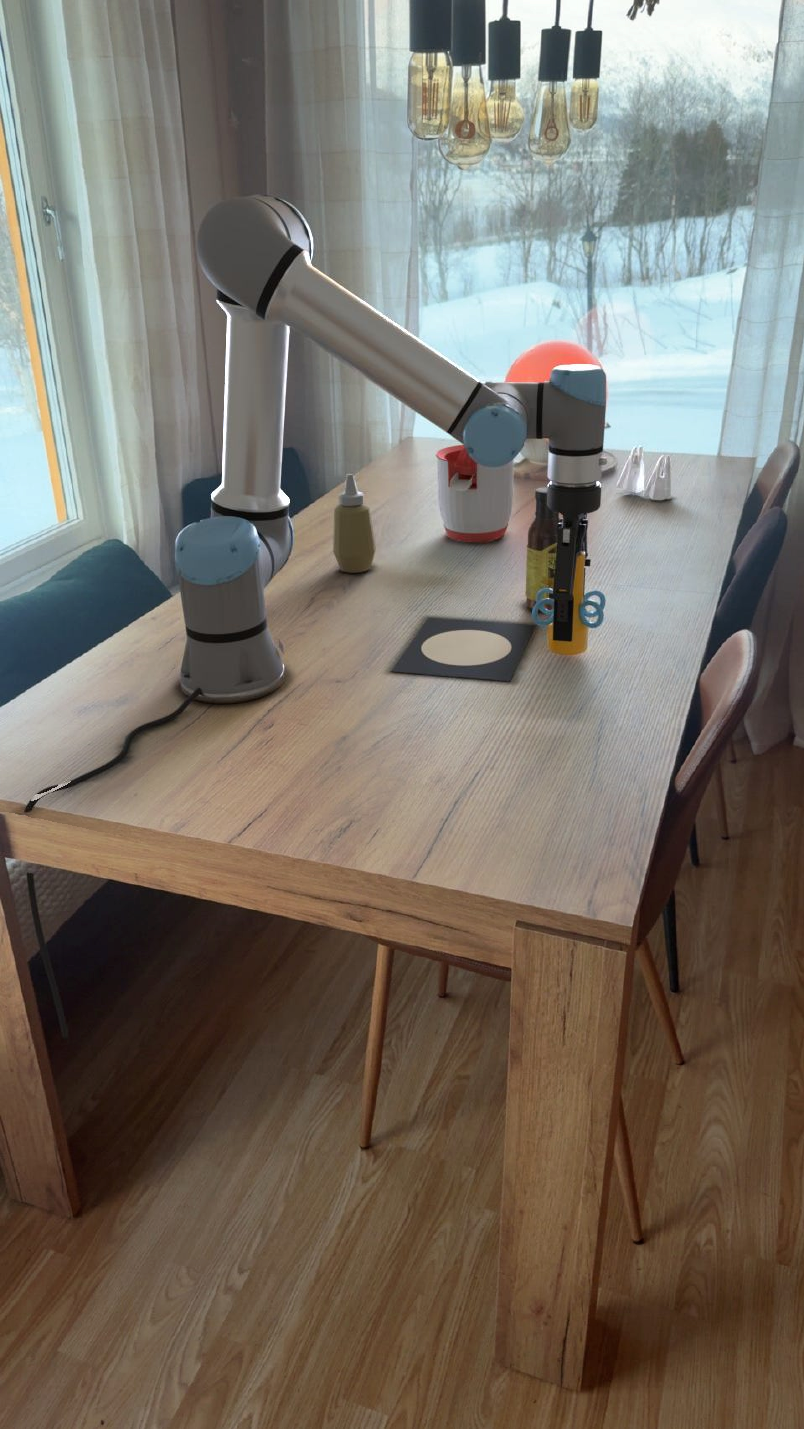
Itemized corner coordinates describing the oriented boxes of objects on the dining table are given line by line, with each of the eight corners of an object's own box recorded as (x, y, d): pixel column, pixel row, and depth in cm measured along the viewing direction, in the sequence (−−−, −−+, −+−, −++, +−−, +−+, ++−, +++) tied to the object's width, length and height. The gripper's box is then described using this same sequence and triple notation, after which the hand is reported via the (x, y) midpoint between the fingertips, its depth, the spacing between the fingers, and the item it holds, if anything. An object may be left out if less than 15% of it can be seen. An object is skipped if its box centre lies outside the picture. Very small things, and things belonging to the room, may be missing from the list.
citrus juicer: (422, 546, 211) (419, 445, 202) (454, 521, 225) (452, 426, 216) (496, 553, 205) (496, 450, 196) (524, 528, 219) (525, 430, 210)
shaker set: (614, 495, 239) (617, 446, 234) (623, 491, 242) (626, 442, 237) (663, 502, 232) (666, 452, 227) (672, 498, 235) (675, 448, 230)
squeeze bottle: (385, 567, 200) (381, 473, 192) (355, 578, 195) (349, 482, 187) (355, 559, 205) (350, 466, 197) (325, 570, 200) (318, 475, 192)
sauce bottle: (552, 615, 175) (556, 497, 166) (519, 609, 178) (520, 493, 169) (569, 602, 180) (573, 487, 171) (535, 596, 183) (538, 483, 174)
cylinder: (600, 666, 153) (606, 568, 147) (529, 662, 155) (531, 565, 149) (603, 634, 164) (609, 541, 157) (536, 631, 166) (539, 539, 159)
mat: (510, 681, 153) (510, 681, 153) (391, 671, 157) (391, 671, 157) (535, 625, 171) (535, 624, 171) (428, 618, 176) (428, 617, 176)
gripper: (590, 506, 137) (583, 657, 146) (610, 461, 158) (603, 596, 167) (533, 503, 139) (529, 653, 148) (560, 459, 160) (555, 593, 169)
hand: (568, 623), depth 158 cm, fingers closed on cylinder, 12 cm apart
